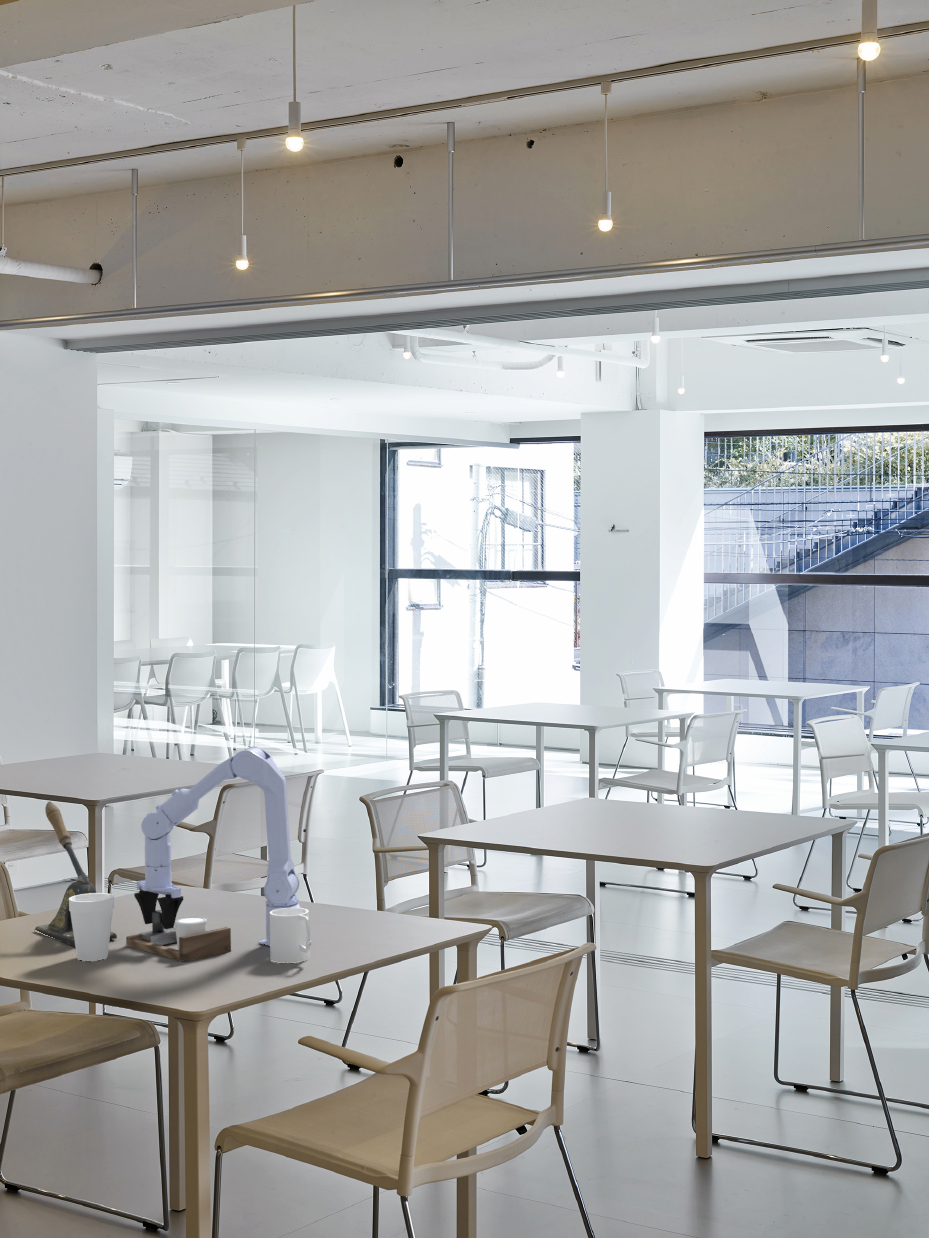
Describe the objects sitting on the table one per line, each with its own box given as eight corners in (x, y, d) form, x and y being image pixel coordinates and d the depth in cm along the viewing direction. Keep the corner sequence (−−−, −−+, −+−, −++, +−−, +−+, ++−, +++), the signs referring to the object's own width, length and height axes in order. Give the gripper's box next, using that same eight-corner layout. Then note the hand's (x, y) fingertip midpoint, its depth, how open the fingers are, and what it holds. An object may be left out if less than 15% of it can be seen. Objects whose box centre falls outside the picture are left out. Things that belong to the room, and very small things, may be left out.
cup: (293, 969, 289) (292, 920, 289) (263, 958, 298) (262, 911, 298) (326, 962, 294) (326, 914, 294) (295, 952, 303) (295, 905, 303)
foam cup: (74, 965, 295) (73, 903, 295) (65, 956, 303) (64, 895, 303) (119, 959, 299) (118, 898, 299) (109, 950, 307) (108, 891, 307)
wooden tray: (230, 950, 305) (230, 928, 305) (183, 961, 296) (183, 938, 296) (172, 935, 320) (172, 913, 320) (126, 945, 312) (125, 923, 312)
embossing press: (72, 949, 310) (69, 813, 310) (31, 930, 328) (29, 802, 328) (118, 941, 317) (116, 808, 316) (76, 923, 335) (74, 798, 335)
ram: (182, 940, 314) (181, 910, 314) (150, 947, 309) (150, 916, 309) (170, 937, 318) (170, 907, 317) (139, 944, 312) (139, 913, 312)
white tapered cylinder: (200, 956, 301) (199, 923, 301) (170, 955, 302) (169, 922, 302) (212, 948, 308) (211, 916, 308) (182, 947, 309) (182, 915, 309)
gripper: (124, 863, 316) (125, 924, 316) (161, 871, 305) (162, 933, 306) (151, 859, 321) (152, 918, 321) (188, 866, 311) (189, 928, 311)
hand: (159, 925), depth 313 cm, fingers open, 7 cm apart
